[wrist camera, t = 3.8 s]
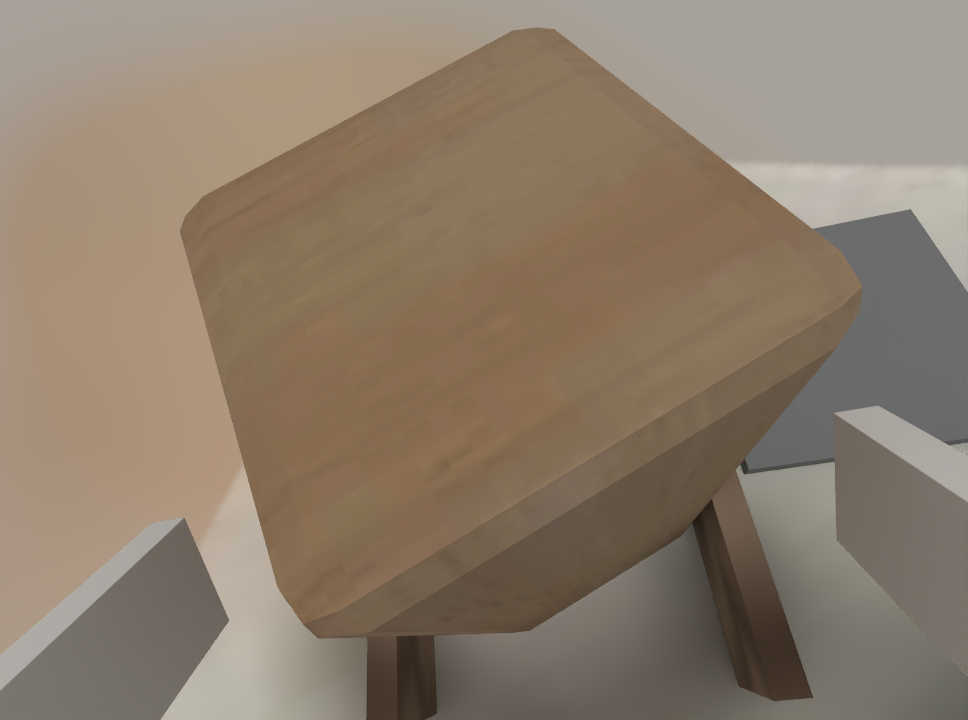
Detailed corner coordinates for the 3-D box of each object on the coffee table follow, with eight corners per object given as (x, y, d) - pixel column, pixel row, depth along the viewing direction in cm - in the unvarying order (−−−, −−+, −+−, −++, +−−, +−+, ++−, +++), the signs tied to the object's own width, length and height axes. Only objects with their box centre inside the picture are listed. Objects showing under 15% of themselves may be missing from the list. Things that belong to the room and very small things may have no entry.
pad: (1044, 431, 23) (1058, 424, 22) (744, 474, 25) (748, 469, 24) (903, 219, 29) (910, 209, 29) (672, 265, 31) (673, 257, 30)
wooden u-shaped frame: (769, 683, 21) (813, 697, 17) (411, 716, 23) (366, 736, 19) (661, 333, 29) (671, 281, 25) (404, 380, 31) (371, 339, 27)
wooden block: (425, 461, 28) (150, 200, 11) (577, 371, 29) (541, -8, 12) (513, 642, 24) (264, 677, 6) (695, 528, 24) (928, 273, 7)
